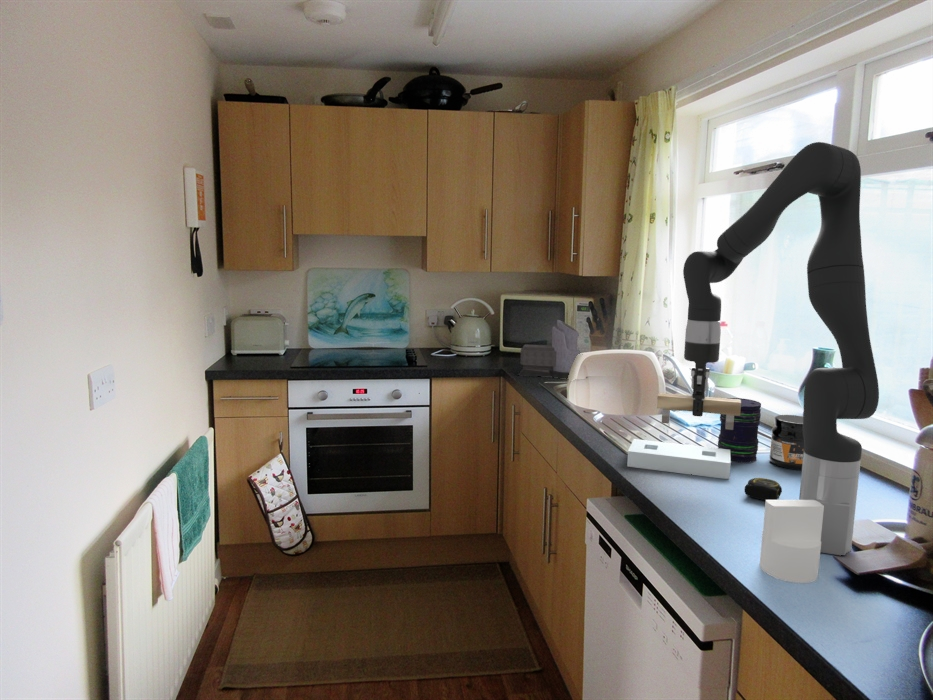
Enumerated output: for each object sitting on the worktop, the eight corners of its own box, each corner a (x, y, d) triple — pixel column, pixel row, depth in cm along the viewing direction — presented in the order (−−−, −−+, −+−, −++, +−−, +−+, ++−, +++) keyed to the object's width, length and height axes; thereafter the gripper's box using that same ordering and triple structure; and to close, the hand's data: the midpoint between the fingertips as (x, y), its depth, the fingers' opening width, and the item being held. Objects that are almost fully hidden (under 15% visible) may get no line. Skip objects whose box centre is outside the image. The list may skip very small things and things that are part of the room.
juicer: (588, 374, 296) (590, 319, 293) (587, 380, 281) (590, 322, 277) (520, 370, 302) (522, 316, 298) (516, 377, 286) (517, 320, 283)
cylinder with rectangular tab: (800, 558, 119) (806, 493, 117) (829, 583, 110) (836, 513, 109) (750, 558, 119) (755, 493, 117) (775, 583, 110) (781, 513, 108)
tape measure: (742, 498, 148) (743, 482, 148) (752, 490, 153) (753, 474, 153) (775, 506, 144) (776, 489, 143) (784, 497, 149) (785, 481, 148)
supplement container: (768, 467, 170) (772, 421, 168) (769, 455, 180) (773, 412, 178) (814, 473, 166) (819, 426, 164) (813, 461, 175) (817, 417, 173)
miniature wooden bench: (738, 431, 151) (741, 402, 150) (656, 422, 157) (657, 395, 156) (738, 427, 154) (740, 399, 153) (657, 419, 160) (658, 392, 159)
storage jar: (714, 458, 176) (718, 403, 174) (719, 449, 185) (723, 396, 183) (755, 465, 172) (760, 408, 169) (758, 455, 180) (763, 400, 178)
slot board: (729, 479, 160) (730, 463, 160) (627, 466, 169) (628, 451, 168) (729, 464, 171) (730, 449, 171) (633, 453, 180) (633, 438, 179)
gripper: (720, 344, 145) (714, 422, 147) (720, 337, 158) (715, 409, 160) (683, 342, 147) (678, 419, 150) (686, 335, 160) (682, 406, 163)
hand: (697, 413), depth 155 cm, fingers closed on miniature wooden bench, 3 cm apart
